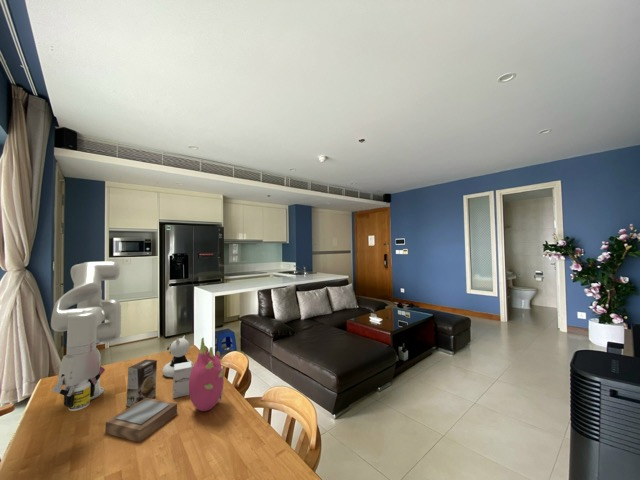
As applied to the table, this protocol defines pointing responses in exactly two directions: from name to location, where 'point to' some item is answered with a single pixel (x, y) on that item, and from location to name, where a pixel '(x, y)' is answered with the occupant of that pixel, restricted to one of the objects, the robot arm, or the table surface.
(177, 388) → the supplement box
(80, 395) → the supplement bottle
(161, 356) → the table surface
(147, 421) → the walnut stand
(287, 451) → the table surface
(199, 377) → the pink dragon fruit
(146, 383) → the coffee box
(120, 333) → the robot arm
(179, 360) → the decorative figurine
